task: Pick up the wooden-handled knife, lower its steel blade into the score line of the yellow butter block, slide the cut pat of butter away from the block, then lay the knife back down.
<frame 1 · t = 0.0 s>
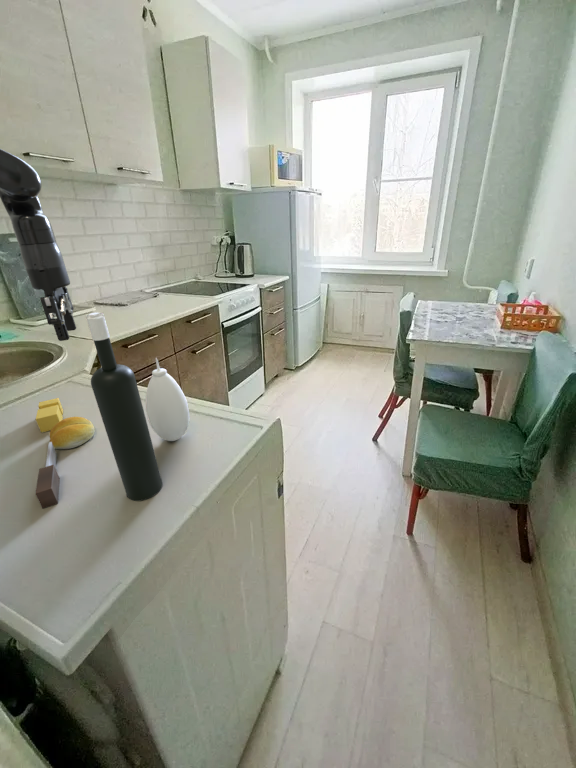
hand: (68, 334, 86), 17 cm above the countertop, tool pointing down, fingers open, 8 cm apart
knife: (52, 480, 62), on the countertop
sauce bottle: (174, 439, 73), on the countertop
bread roll: (73, 439, 75), on the countertop
butter block: (52, 425, 80), on the countertop
butter pat: (53, 414, 84), on the countertop
wine bottle: (145, 489, 60), on the countertop
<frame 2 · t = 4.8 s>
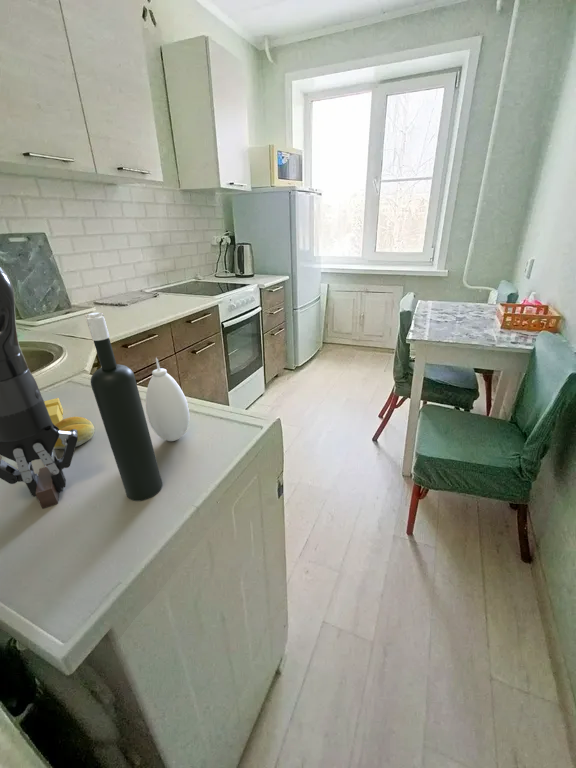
hand: (50, 491, 60), 0 cm above the countertop, tool pointing down, fingers closed on knife, 2 cm apart
knife: (52, 480, 62), on the countertop, touching gripper
everything else where it was.
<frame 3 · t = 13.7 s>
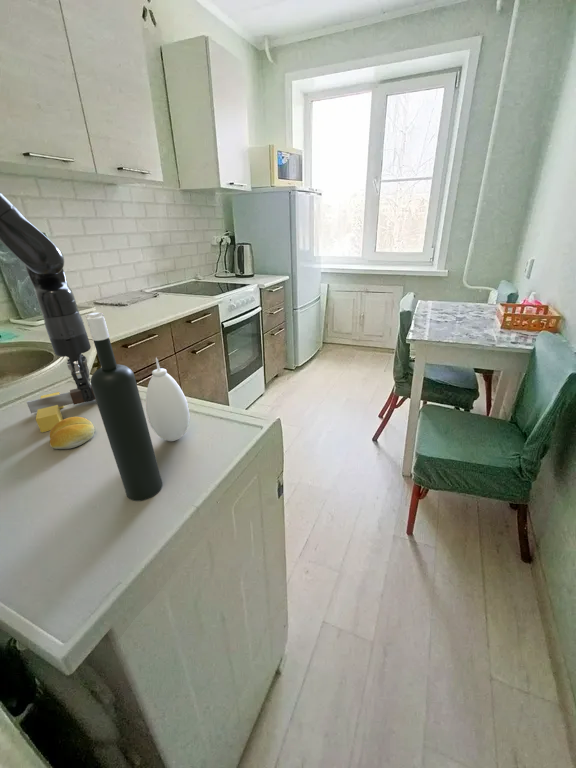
hand: (89, 398, 89), 1 cm above the countertop, tool pointing down, fingers closed on knife, 2 cm apart
knife: (73, 403, 88), point 1 cm above the countertop, touching butter pat, gripper
butter pat: (54, 408, 87), on the countertop, touching knife
everything else where it was.
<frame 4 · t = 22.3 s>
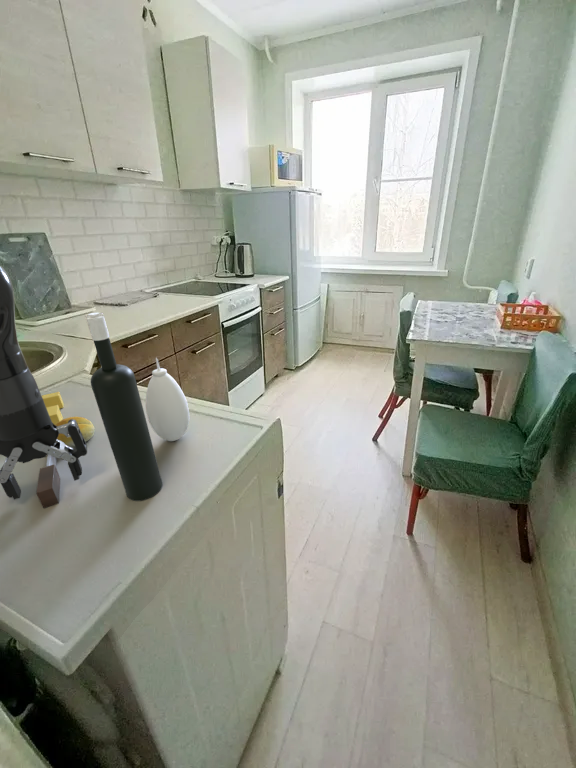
hand: (48, 486, 59), 1 cm above the countertop, tool pointing down, fingers open, 8 cm apart
knife: (53, 480, 62), on the countertop
butter pat: (54, 407, 87), on the countertop
everything else where it was.
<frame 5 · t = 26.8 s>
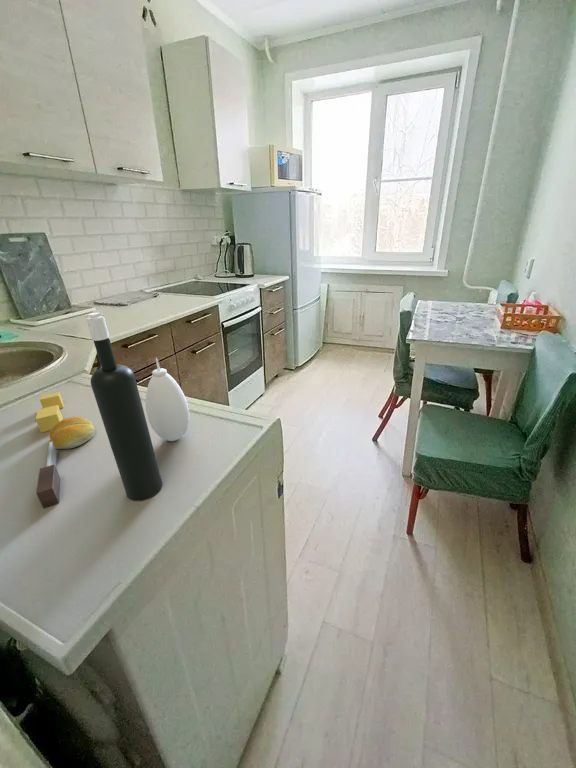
nothing on the countertop moved.
at the end: butter pat moved 4.0 cm from its start; butter block moved 0.0 cm from its start; the gripper is holding nothing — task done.
